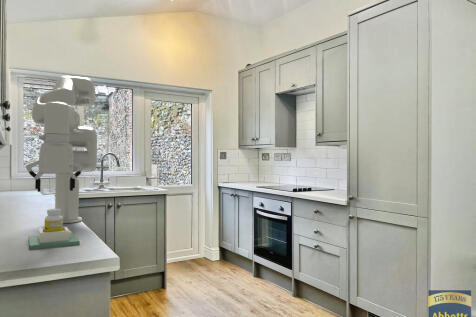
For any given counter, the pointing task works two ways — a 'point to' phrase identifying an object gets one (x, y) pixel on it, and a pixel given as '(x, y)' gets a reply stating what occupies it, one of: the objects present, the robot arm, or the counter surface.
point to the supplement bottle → (53, 221)
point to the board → (53, 239)
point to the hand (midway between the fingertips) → (55, 190)
